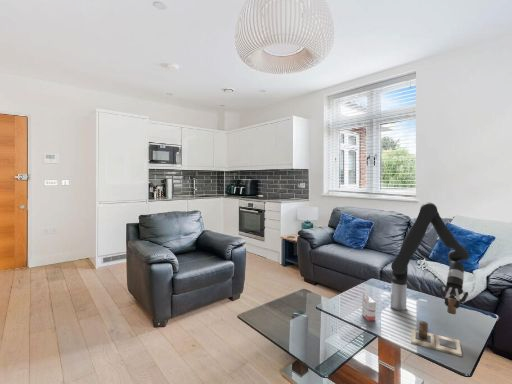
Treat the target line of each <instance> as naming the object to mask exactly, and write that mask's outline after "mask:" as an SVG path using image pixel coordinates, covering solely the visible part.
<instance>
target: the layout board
mask: <svg viewBox="0 0 512 384" xmlns="http://www.w3.org/2000/svg"><path fill="white" fill-rule="evenodd" d="M410 335H411V337H410V344H414V345H418V346H422V347H425V348H429V349H432V350H436V351H440V352H443V353H447V354H451V355H454V356H459V357H463V354H462V353H463V352H462V347H461V342H460V339H455V338H451V337H447V336H442V335H439V334H435V333H430V332H428V334H427V339H422V338H420V337H419V329H415V328H411V334H410Z"/></svg>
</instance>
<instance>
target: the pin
mask: <svg viewBox="0 0 512 384" xmlns="http://www.w3.org/2000/svg"><path fill="white" fill-rule="evenodd" d="M428 325H429V323H428V322H427V321H424V320H419V321H418V330H419V337H420V338H422V339H427V334H428V333H429V332H428V331H429V329H428Z"/></svg>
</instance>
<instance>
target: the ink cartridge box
mask: <svg viewBox="0 0 512 384" xmlns="http://www.w3.org/2000/svg"><path fill="white" fill-rule="evenodd" d="M376 304H377V302H376V301H375V300H373V298H371V296H368V295H366V293H365V292H362V301H361V306H362V307H361V315H362V316H363V317H364V318H365V319H366V320H367V321H368V322H370V321H371V322H372V321H376Z"/></svg>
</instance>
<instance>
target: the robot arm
mask: <svg viewBox="0 0 512 384" xmlns="http://www.w3.org/2000/svg"><path fill="white" fill-rule="evenodd" d="M430 224H431V226H433V228H434V230H435V232H436V234H437V236H438V238H439V239H440V241H441V242H442V244H443V245H444V247H445V248H447V249H451V250H450V251H449V252H448V254H447V258H448V263H449V268H448V272H447V278H446V279H447V280H446V285H445V286H442V285H440V286H439V290H440V291H439V292H440V294H441V297H442V299H444V305H445V306H446V307H448V297H451V296H452V297H453V296H454V297H455V298H456V299H457V301H456V310H457V309H459V308H460V303H462V304H464V303H465V302H466V300H467V298H468V297H469V292H468V291H464V290H463V288H464V287H463V286H464V282H465V281H464V279H465V278H464V276H465V275H464V274H465V271H464V270H465V265H464V264H463V263H462V261H463V262H464V261H467V260H469V258H470V254H469V251H468V250H467V249H466V248H465V247H464V246H463V245H462V244H461V243H460V242H458V240H457V239H456V238H455V236H454V235H453V233H452V232H451V230H450V229H449V228H448V226H447V225H446V223H445V222H444V221H443V219H442V217H441V216H440V213H439V211H438V207H437V206H436V204H435V203H433V202H429V201H428V202H424V203H422V205H421V206H420V209H419V213H418V215H417V217H416V220H415V222H414V223H413V224H412V226H411V227H410V228H409V230H408V232H407V233H406V236H405V237H404V239H403V242H402V244H401V246H400V249H399V252H398V254H397V256H396V257H395V258H394V260H393V261H392V262H391V267H390V268H391V270H392V271H391V284H390V286H391V289H390V290H391V293H390V308H392V309H394V310H397V311H406V310H407V289H408V287H407V285H408V271H409V270H408V266H409V263H410V260H411V259H412V257H413V255H414V254H415V253H416V251H417V250H418V248H419V247H420V245H421V243H422V242H423V240H424V237H425V235H426V232H427V230H428V227H429V225H430ZM452 249H453V250H452ZM445 291H446V294H444V292H445ZM461 295H463V296H462V298H460V296H461Z"/></svg>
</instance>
